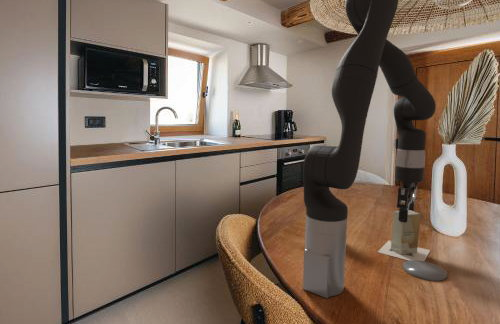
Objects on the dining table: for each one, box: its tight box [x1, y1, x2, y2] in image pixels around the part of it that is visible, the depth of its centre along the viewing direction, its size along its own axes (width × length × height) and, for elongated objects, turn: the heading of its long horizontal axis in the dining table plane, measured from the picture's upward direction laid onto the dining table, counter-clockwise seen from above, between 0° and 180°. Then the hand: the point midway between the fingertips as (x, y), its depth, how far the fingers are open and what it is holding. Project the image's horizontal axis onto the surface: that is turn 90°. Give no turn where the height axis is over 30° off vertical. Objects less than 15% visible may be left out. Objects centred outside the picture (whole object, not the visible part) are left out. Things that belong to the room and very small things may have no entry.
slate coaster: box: [402, 260, 448, 282], centre depth 78 cm, size 10×10×1 cm
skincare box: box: [390, 210, 422, 254], centre depth 89 cm, size 6×4×12 cm
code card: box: [377, 239, 431, 262], centre depth 90 cm, size 12×12×1 cm
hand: (406, 218), depth 89 cm, fingers open, 8 cm apart
